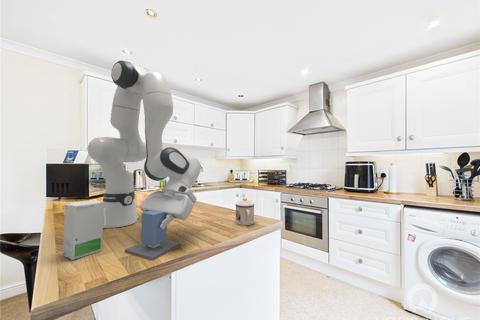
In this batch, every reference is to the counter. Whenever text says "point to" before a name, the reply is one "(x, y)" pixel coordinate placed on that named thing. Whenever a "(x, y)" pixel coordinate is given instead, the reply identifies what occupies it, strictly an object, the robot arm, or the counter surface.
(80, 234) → the skincare box
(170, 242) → the post
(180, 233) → the counter surface
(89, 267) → the counter surface
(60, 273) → the counter surface
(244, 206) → the teacup with lid
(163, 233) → the blue block
